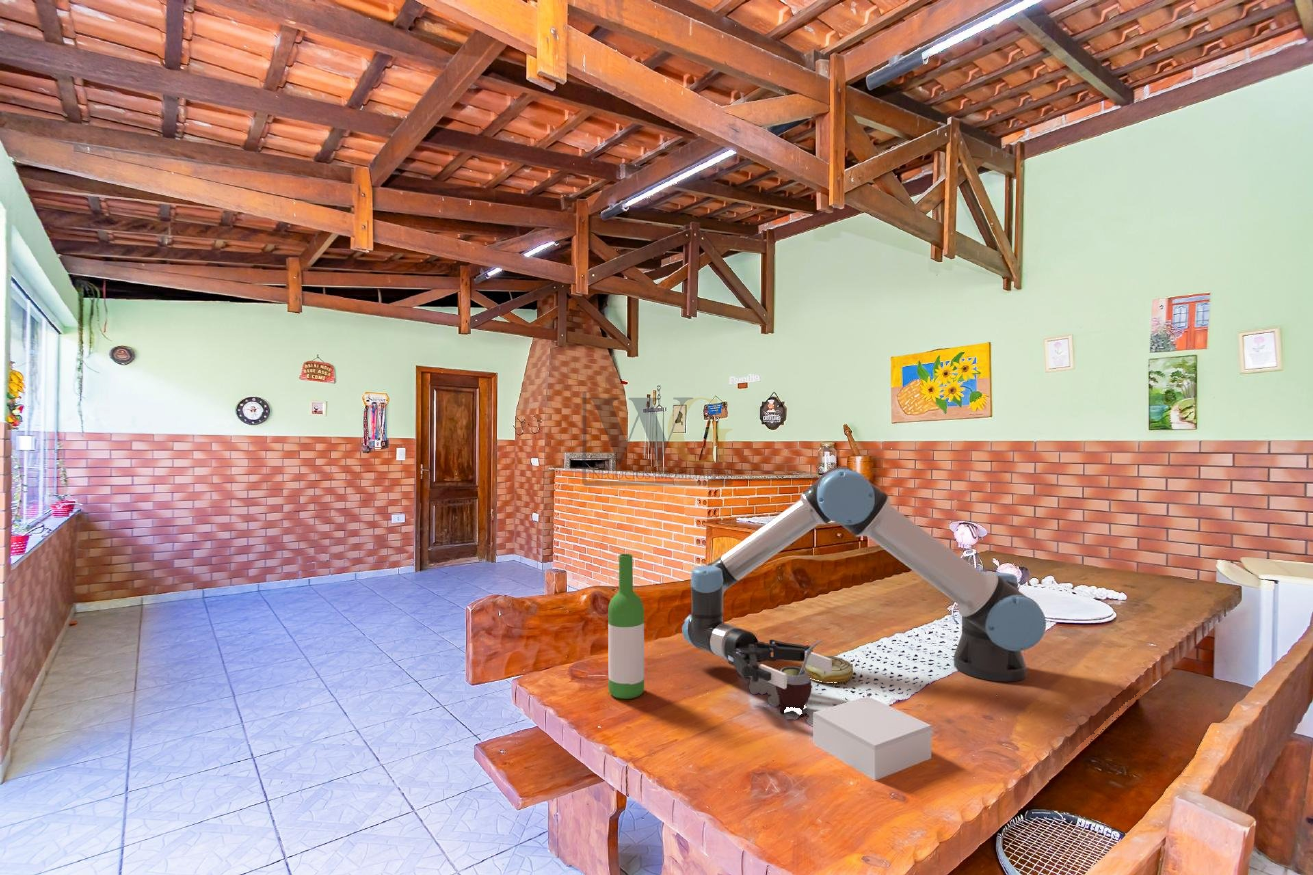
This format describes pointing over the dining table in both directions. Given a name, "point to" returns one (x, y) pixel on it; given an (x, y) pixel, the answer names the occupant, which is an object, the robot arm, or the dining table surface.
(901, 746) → the storage box
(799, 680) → the mate gourd
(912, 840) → the dining table surface
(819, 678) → the decorated donut
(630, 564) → the wine bottle
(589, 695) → the dining table surface
